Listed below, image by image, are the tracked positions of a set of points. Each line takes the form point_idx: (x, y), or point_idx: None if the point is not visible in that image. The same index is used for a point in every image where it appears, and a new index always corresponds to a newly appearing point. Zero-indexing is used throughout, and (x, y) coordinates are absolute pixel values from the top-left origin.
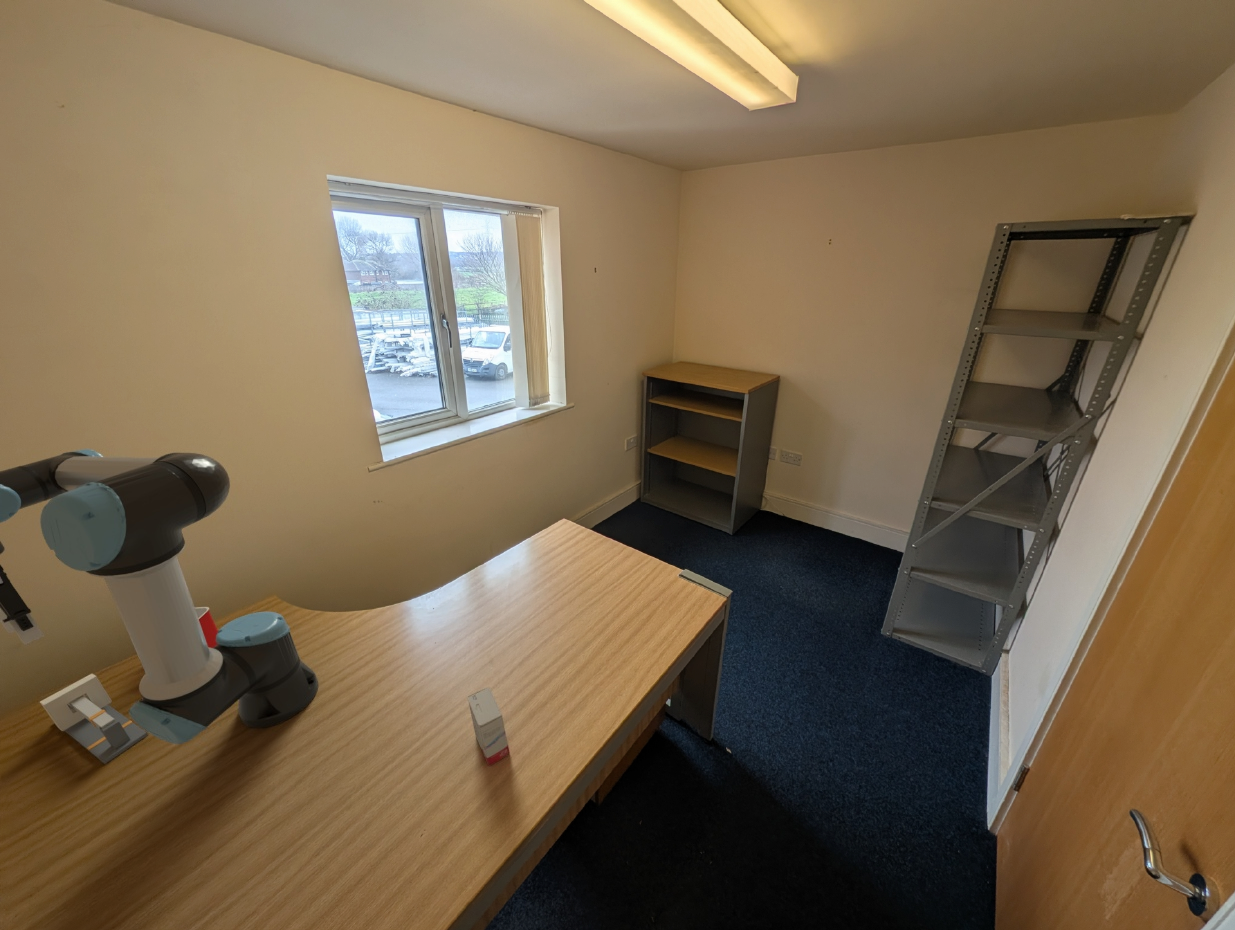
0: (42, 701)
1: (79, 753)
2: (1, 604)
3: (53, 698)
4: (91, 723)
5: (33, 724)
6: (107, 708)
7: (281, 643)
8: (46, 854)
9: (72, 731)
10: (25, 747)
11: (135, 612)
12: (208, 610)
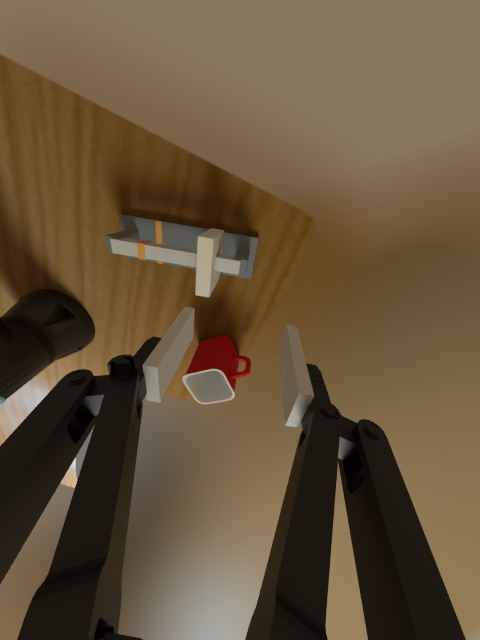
0: (210, 240)
1: (169, 215)
2: (9, 454)
3: (200, 249)
4: None
5: (285, 227)
6: None
7: None
8: (25, 104)
9: None
10: (248, 199)
11: None
12: (196, 400)
